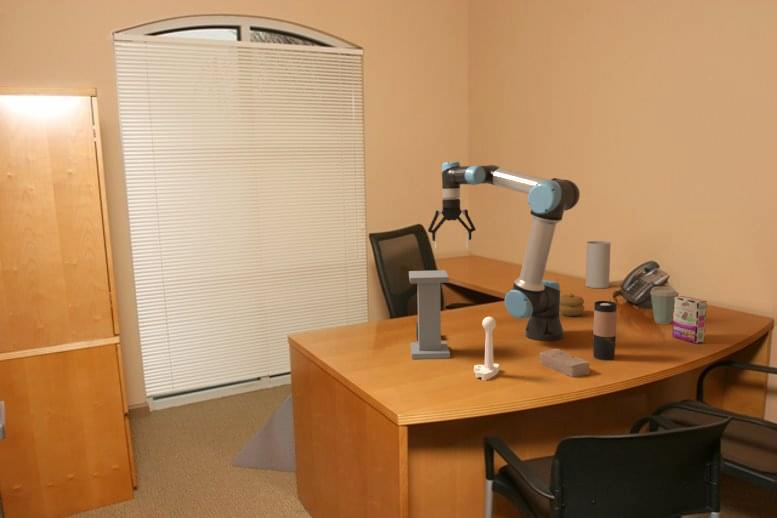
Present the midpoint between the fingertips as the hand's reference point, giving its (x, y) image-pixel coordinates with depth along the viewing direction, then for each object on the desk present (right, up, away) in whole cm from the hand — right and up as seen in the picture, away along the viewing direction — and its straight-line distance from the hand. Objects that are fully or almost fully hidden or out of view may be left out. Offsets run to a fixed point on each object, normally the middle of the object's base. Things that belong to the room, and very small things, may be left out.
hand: (451, 248), depth 253 cm
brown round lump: (+57, -31, +18) cm, 67 cm away
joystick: (+5, -44, -55) cm, 70 cm away
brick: (+33, -43, -51) cm, 74 cm away
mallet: (-12, -36, -4) cm, 38 cm away
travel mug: (+50, -40, -41) cm, 77 cm away
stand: (-12, -40, -30) cm, 51 cm away
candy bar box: (+90, -36, -23) cm, 100 cm away
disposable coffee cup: (+91, -32, +2) cm, 97 cm away
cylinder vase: (+90, -20, +77) cm, 121 cm away
